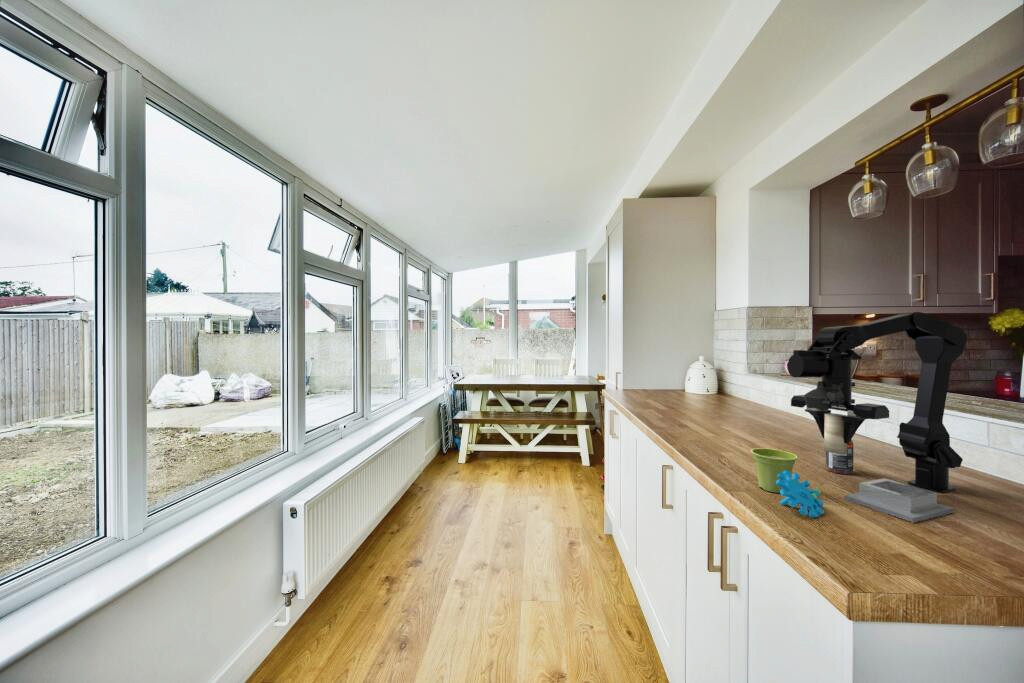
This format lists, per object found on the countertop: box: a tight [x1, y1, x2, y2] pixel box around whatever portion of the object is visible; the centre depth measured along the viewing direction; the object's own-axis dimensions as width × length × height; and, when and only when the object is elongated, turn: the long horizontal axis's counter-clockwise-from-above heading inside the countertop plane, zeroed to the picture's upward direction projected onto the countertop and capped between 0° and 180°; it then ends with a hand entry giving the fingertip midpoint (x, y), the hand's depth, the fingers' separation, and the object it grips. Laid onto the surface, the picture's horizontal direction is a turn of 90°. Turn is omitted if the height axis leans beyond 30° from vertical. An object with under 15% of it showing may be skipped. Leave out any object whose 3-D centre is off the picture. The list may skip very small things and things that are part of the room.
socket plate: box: [843, 491, 954, 523], centre depth 86 cm, size 14×12×1 cm
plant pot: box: [750, 447, 798, 494], centre depth 95 cm, size 9×9×9 cm
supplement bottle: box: [824, 439, 854, 475], centre depth 108 cm, size 6×6×11 cm
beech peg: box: [823, 412, 847, 454], centre depth 97 cm, size 4×4×9 cm
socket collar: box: [858, 478, 938, 513], centre depth 86 cm, size 9×9×3 cm
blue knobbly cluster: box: [776, 470, 825, 519], centre depth 85 cm, size 11×6×10 cm
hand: (835, 440), depth 97 cm, fingers closed on beech peg, 4 cm apart
